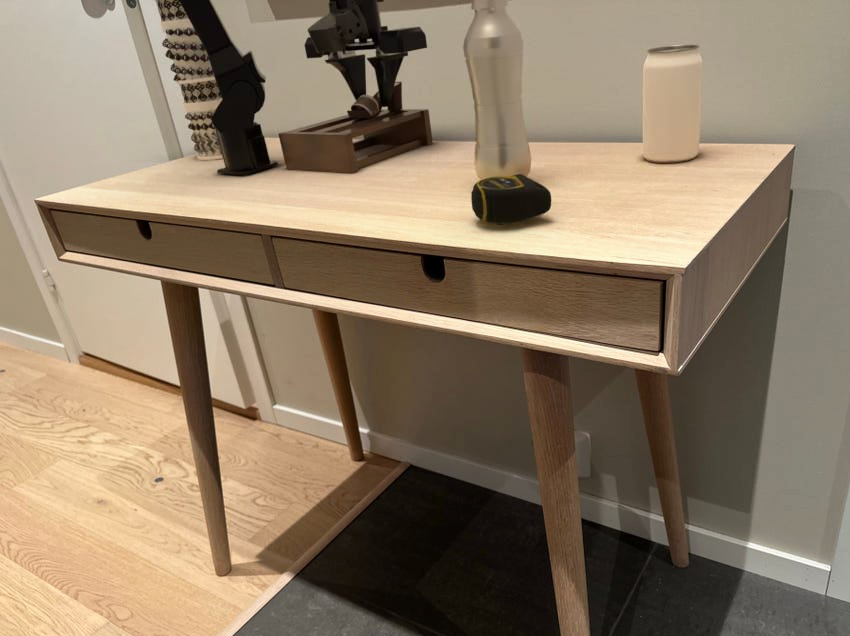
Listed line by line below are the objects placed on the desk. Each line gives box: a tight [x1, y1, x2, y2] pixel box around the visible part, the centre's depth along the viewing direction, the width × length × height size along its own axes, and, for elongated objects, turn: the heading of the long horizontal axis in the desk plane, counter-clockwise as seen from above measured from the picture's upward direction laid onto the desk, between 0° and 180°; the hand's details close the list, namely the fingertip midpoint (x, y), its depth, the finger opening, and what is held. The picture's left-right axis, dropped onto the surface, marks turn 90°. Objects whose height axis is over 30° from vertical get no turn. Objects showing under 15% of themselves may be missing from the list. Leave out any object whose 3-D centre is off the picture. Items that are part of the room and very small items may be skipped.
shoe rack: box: [278, 108, 434, 174], centre depth 103 cm, size 13×18×5 cm
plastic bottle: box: [462, 0, 532, 181], centre depth 76 cm, size 6×7×20 cm
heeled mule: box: [346, 81, 403, 118], centre depth 104 cm, size 4×11×4 cm, turn 141°
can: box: [642, 44, 703, 164], centre depth 81 cm, size 6×6×12 cm
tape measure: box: [470, 174, 552, 226], centre depth 67 cm, size 7×7×4 cm
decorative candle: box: [154, 0, 223, 161], centre depth 112 cm, size 9×9×25 cm
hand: (374, 106), depth 104 cm, fingers closed on heeled mule, 4 cm apart
